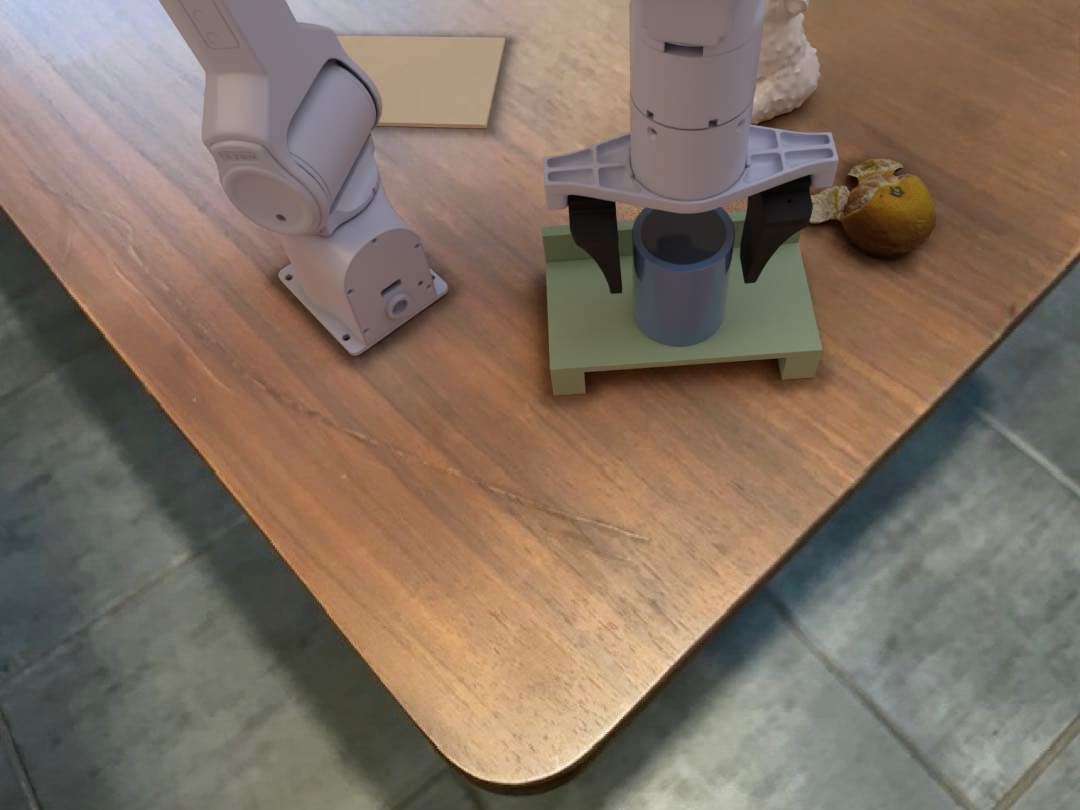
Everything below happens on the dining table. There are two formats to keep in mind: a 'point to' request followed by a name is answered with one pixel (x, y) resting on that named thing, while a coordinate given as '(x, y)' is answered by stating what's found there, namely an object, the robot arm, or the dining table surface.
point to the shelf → (617, 343)
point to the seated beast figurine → (784, 61)
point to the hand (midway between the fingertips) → (681, 275)
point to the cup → (681, 274)
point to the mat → (430, 77)
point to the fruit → (880, 209)
